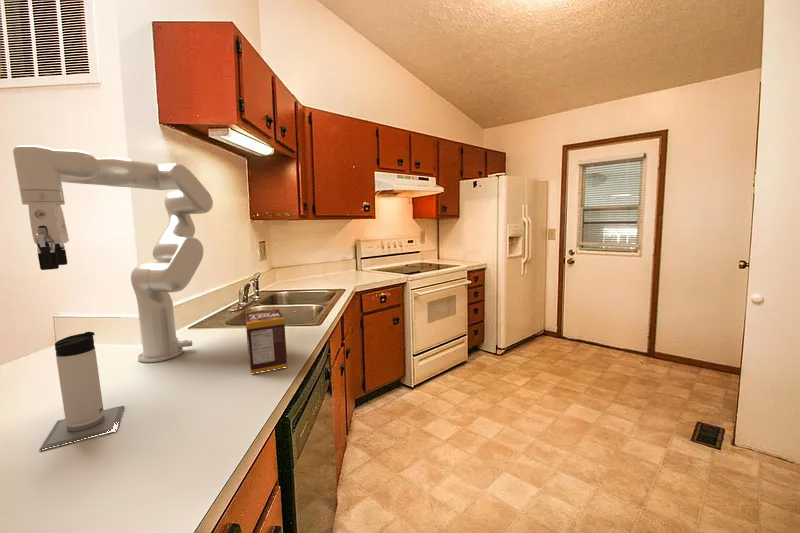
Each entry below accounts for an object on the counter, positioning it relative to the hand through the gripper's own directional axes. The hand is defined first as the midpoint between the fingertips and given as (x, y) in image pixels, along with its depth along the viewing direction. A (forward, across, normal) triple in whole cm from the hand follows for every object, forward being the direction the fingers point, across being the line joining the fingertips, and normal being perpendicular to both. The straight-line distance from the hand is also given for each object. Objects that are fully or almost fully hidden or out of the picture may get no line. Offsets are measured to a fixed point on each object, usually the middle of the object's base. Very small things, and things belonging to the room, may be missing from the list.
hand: (54, 267), depth 90 cm
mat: (+34, -24, -5) cm, 42 cm away
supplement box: (+34, -11, -47) cm, 59 cm away
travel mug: (+33, -24, -6) cm, 41 cm away
